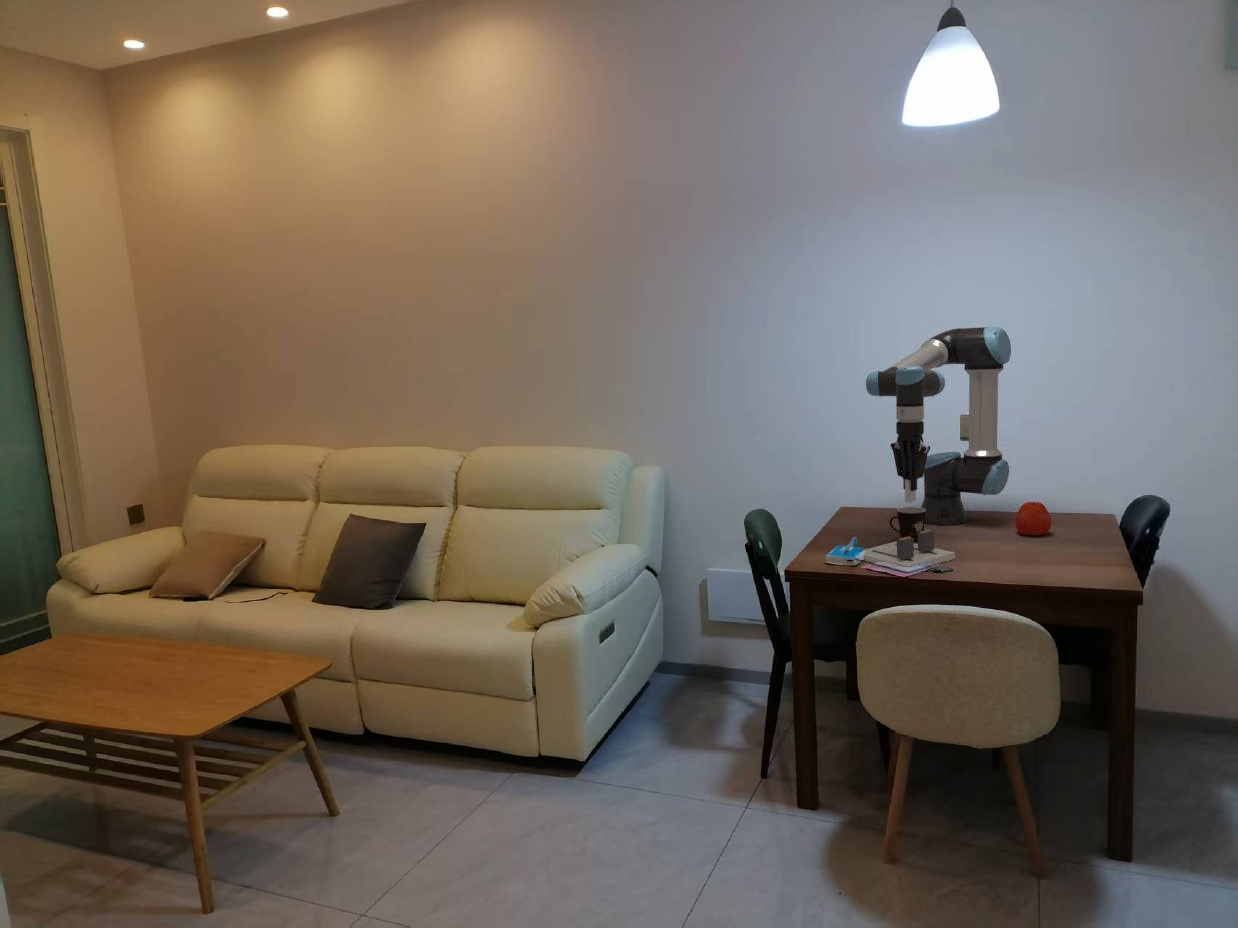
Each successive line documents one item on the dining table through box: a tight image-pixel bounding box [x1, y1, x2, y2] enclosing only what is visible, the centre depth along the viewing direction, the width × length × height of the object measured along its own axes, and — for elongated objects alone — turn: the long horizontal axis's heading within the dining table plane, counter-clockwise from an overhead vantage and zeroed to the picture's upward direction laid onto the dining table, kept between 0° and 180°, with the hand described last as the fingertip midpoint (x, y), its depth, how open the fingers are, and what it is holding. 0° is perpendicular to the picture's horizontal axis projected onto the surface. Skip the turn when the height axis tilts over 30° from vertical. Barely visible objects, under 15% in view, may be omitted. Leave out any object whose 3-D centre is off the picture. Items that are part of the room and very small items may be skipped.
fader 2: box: [917, 529, 935, 552], centre depth 257 cm, size 4×2×6 cm, turn 121°
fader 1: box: [896, 537, 914, 560], centre depth 251 cm, size 4×2×6 cm, turn 121°
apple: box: [1014, 501, 1052, 536], centre depth 275 cm, size 10×10×10 cm
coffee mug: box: [889, 506, 926, 544], centre depth 277 cm, size 12×9×10 cm
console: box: [863, 540, 956, 567], centre depth 258 cm, size 20×20×2 cm
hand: (910, 501), depth 255 cm, fingers closed
